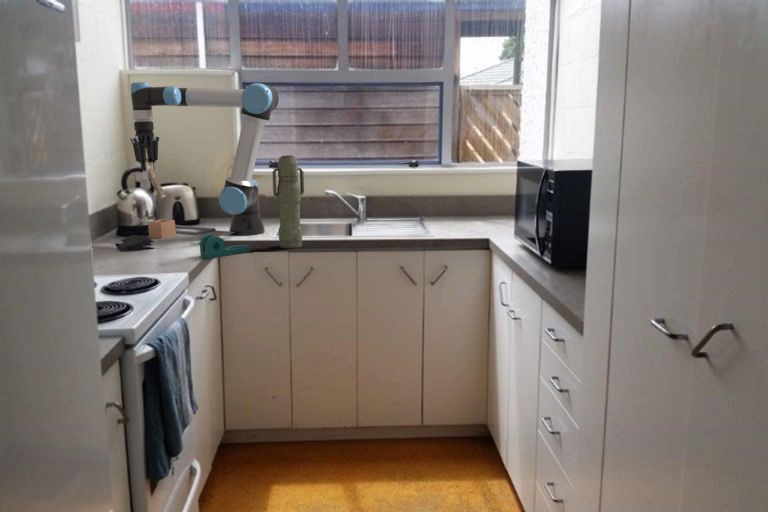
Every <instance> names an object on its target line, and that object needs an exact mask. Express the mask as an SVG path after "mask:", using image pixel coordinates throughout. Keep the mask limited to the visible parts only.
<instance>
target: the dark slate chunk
mask: <svg viewBox="0 0 768 512" xmlns="http://www.w3.org/2000/svg"><path fill="white" fill-rule="evenodd" d="M120 241H121V243H114V245H115V247H116V249H117V250H118V251H119V252H120V253H121V252H123V253H128V252H139V251H146V250H147V251H148V250H149V251H150V250H154V249H156V247H152V244H151V243H154V241H153V240H152V239H151V238H150V237H149V236H148V237H147V236H146V235H144V234H141V235H137V234H132V235H130V236H128V237H125V238H123V239H120ZM150 246H151V247H150Z"/></svg>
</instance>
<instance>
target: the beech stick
mask: <svg viewBox="0 0 768 512" xmlns="http://www.w3.org/2000/svg"><path fill="white" fill-rule="evenodd" d="M146 163H148V171H149V179H148V180H149V181H150V183H151V184H152V187H153V188H154V189H153V190H155V193H156V194H157V197H158V199H159V200H163V199H165V198H166V197H167V195H166V194H165V192H164V189H163V187H162V186H161V183H160V181H159V180H158V176H157V175H156V173H155V170H154V171H153V169H152V167H151V165H150V163H149V161H148V158H146Z"/></svg>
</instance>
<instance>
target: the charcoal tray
mask: <svg viewBox="0 0 768 512" xmlns="http://www.w3.org/2000/svg"><path fill="white" fill-rule="evenodd" d="M176 229H177V230H176ZM178 229H185V230H178ZM175 230H176V234H180V235H189V236H190V235H191V236H192V235H193V236H198V235H202V234H203V235H204V234H207V233H212V232H216V227H215V228H214V227H205V226H204V227H203V226H193V225H179V224H175ZM189 230H197V231H189Z"/></svg>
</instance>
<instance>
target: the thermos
mask: <svg viewBox="0 0 768 512" xmlns="http://www.w3.org/2000/svg"><path fill="white" fill-rule="evenodd" d="M298 166H299V165H298V161H297V158H296V156H294V155H281V156H280V157H279V158H278V162H277V167H276V168H274V169H273V170H272V173H271V174H272V192H273V197H274V196H275V197H277V202H278V211H279V213H278V214H279V228H278V241H279V247H280V248H283V249H297V248H301V247H303V243H302V241H303V229H302V227H301V212H300V211H301V209H300V204H301V202H302V201H301V200H302V199H301V196H302V195H304V193H305V183H304V182H305V181H304V179H305V177H304V171H303V169H302V168H301V167H298ZM276 174H277V175H276ZM277 177H278V183H277Z"/></svg>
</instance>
